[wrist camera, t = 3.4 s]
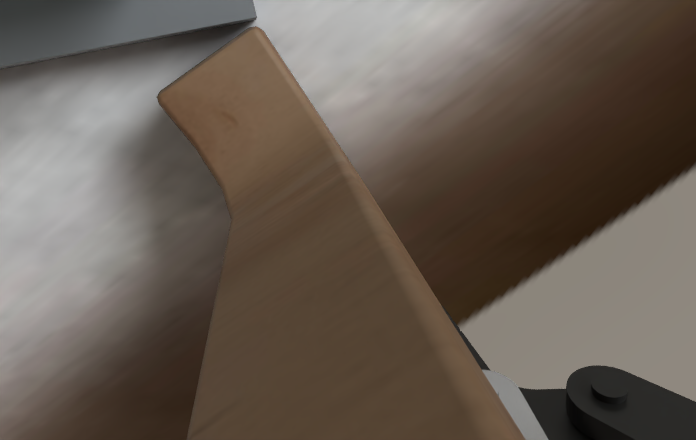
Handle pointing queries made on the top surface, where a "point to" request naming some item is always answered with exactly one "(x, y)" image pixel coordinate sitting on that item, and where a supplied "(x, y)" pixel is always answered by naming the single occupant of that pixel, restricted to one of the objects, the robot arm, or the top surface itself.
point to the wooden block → (314, 280)
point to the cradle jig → (104, 24)
